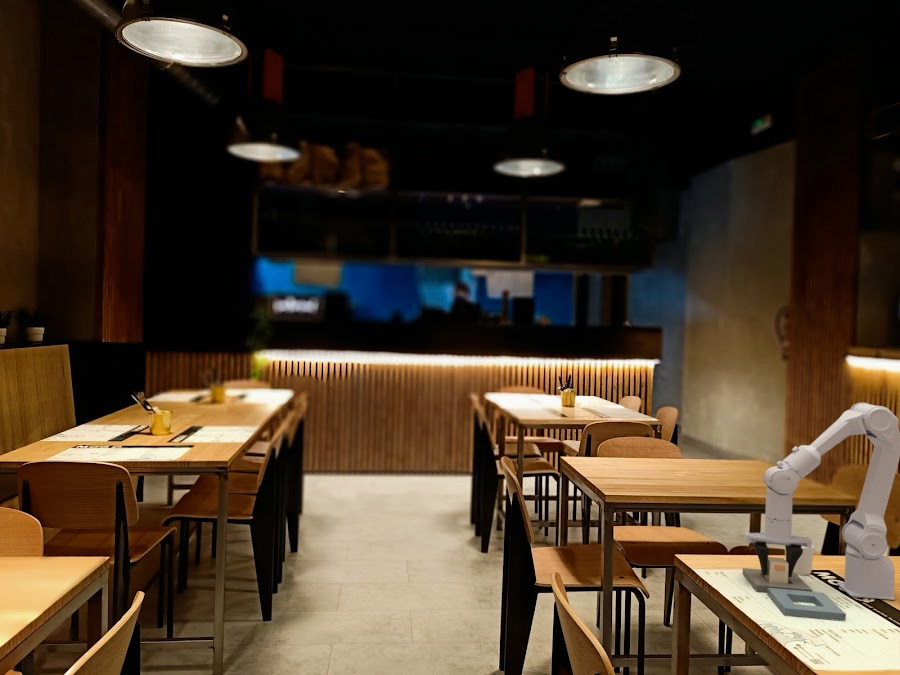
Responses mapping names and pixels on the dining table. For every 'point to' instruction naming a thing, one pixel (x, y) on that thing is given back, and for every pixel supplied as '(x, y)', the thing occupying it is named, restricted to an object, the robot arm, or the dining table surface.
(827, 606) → the socket
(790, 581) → the socket
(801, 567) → the cream tapered cup
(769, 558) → the plug
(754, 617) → the dining table surface
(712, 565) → the dining table surface
